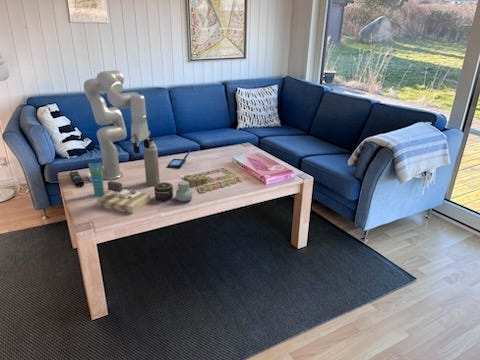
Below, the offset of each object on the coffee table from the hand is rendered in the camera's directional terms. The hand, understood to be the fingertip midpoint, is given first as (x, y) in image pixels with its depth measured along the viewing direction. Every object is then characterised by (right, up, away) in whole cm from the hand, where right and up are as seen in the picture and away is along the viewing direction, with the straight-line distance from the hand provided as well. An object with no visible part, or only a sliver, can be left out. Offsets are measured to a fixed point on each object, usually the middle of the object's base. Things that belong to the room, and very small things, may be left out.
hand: (142, 150), depth 199 cm
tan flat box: (-9, -29, 0) cm, 30 cm away
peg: (-11, -24, -1) cm, 27 cm away
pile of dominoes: (+36, -17, +32) cm, 51 cm away
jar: (+11, -26, +7) cm, 29 cm away
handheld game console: (+11, -6, +56) cm, 57 cm away
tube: (-27, -24, +10) cm, 37 cm away
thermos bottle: (0, -18, +25) cm, 31 cm away
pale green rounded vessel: (+22, -27, +6) cm, 35 cm away
